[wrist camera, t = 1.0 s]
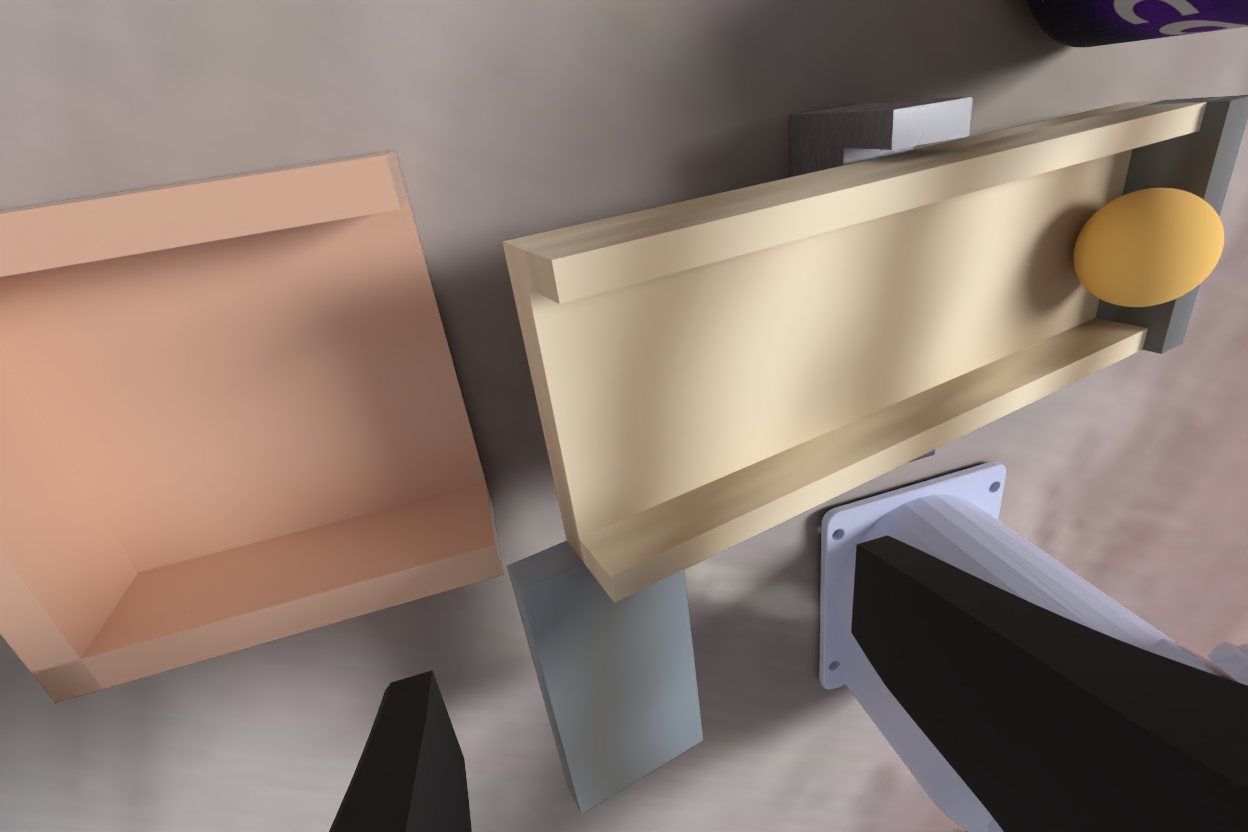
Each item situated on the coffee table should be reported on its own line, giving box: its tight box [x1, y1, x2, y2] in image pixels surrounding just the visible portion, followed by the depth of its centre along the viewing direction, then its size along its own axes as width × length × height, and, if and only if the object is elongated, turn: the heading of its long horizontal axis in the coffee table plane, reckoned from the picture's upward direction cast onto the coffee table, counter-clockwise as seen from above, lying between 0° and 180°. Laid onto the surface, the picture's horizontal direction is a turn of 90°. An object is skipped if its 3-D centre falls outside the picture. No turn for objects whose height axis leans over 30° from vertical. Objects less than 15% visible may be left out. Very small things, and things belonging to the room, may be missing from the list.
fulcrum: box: [790, 97, 973, 462], centre depth 17 cm, size 9×2×4 cm, turn 8°
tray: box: [0, 150, 504, 703], centre depth 15 cm, size 10×11×4 cm
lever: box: [502, 95, 1248, 814], centre depth 17 cm, size 22×15×3 cm
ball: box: [1073, 188, 1224, 307], centre depth 17 cm, size 3×3×3 cm
